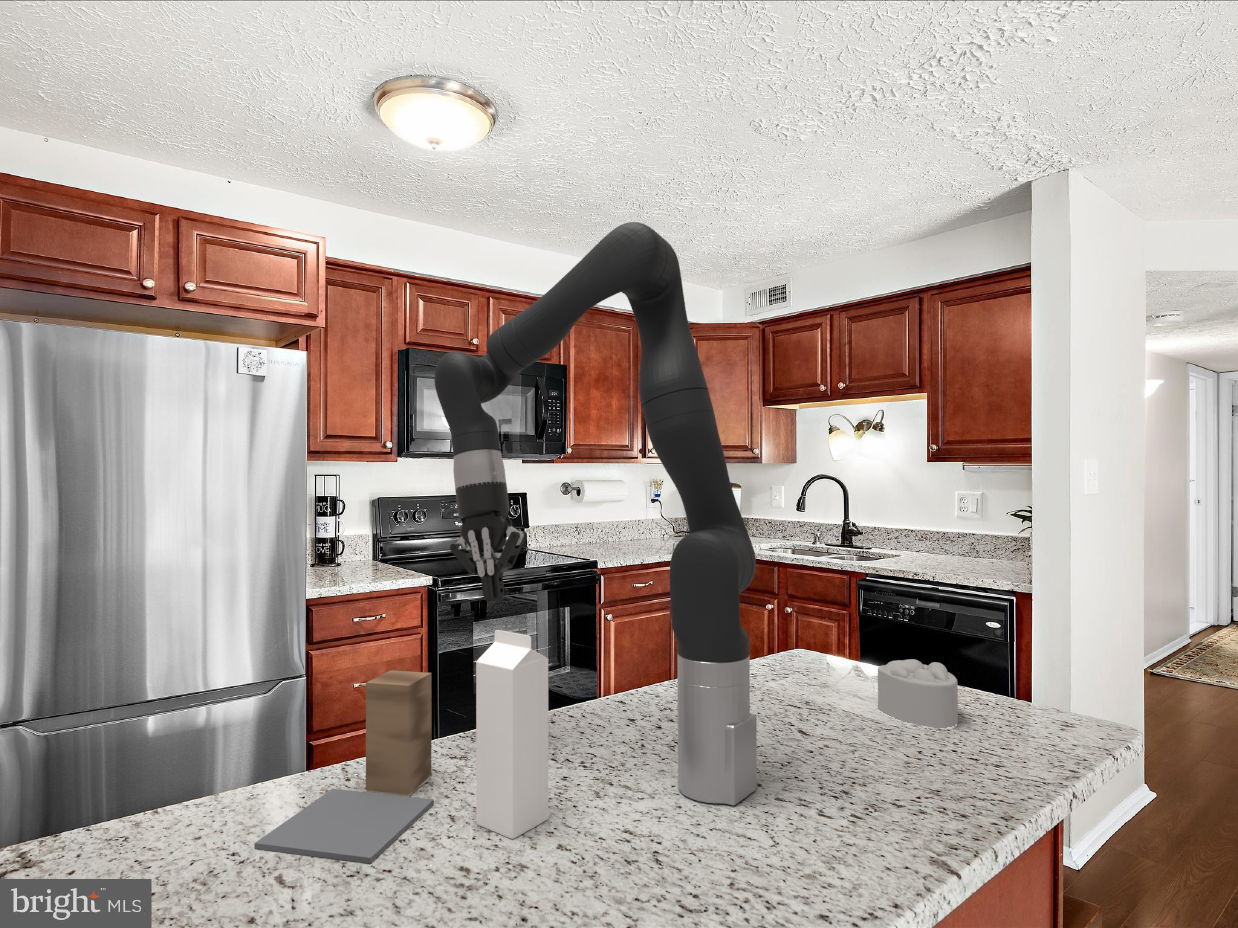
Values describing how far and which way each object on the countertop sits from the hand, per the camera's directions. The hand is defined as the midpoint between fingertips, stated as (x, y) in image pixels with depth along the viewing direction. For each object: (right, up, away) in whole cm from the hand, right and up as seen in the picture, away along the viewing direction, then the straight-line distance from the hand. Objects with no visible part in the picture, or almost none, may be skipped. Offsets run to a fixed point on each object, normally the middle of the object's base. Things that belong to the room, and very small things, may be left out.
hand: (494, 601), depth 106 cm
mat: (-13, -22, -21) cm, 33 cm away
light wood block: (-11, -22, -11) cm, 27 cm away
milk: (+6, -22, -21) cm, 31 cm away
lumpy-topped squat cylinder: (+68, -22, +15) cm, 73 cm away
